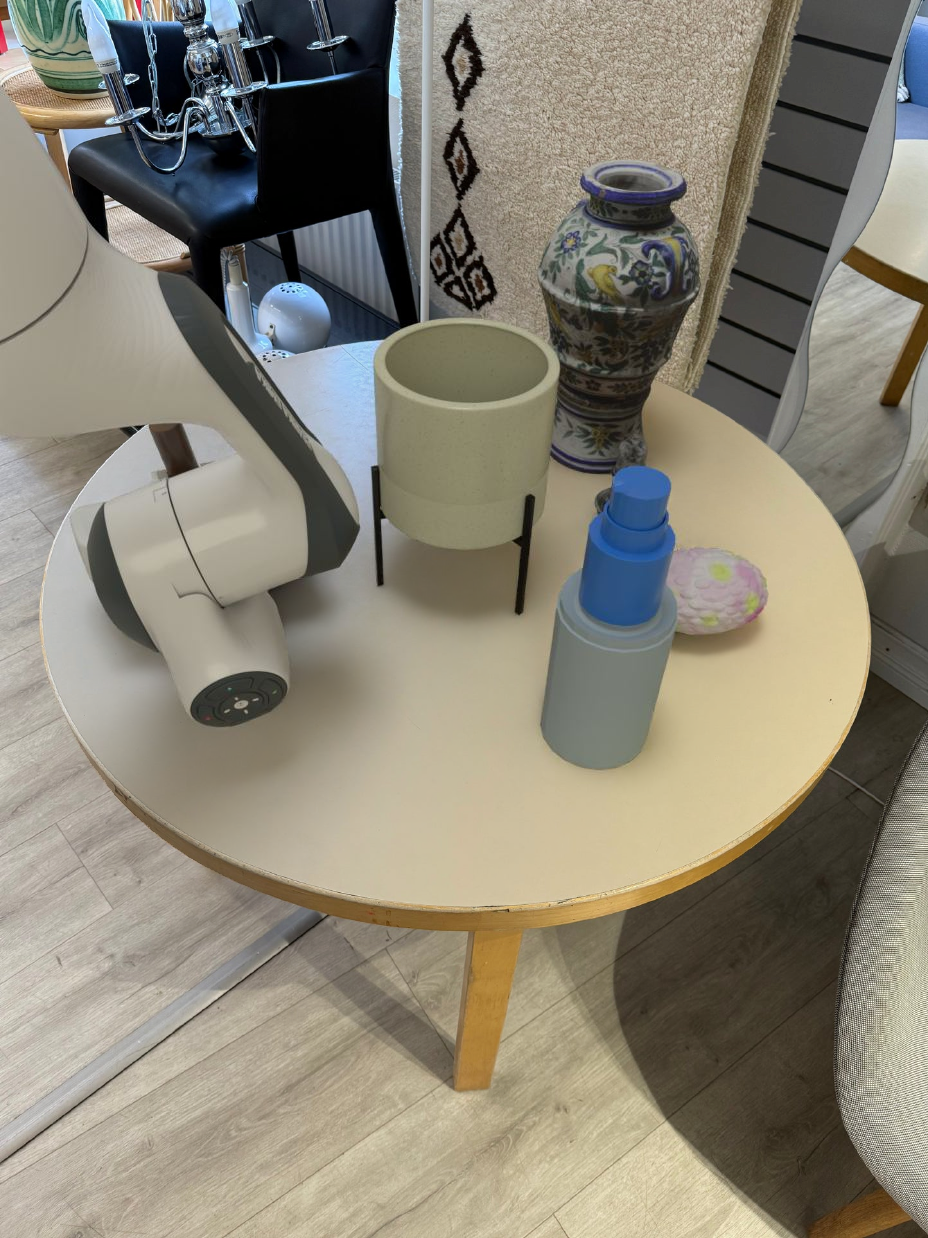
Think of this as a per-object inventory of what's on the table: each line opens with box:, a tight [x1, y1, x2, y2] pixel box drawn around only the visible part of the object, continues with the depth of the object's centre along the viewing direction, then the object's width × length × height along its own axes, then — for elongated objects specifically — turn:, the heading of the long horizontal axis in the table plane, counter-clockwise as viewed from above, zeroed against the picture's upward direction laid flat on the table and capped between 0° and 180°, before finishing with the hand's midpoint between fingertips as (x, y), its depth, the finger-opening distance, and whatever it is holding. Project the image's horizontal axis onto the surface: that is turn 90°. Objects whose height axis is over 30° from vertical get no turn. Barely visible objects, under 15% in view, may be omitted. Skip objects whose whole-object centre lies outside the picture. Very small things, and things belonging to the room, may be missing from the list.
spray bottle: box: [539, 466, 677, 770], centre depth 67 cm, size 9×9×25 cm
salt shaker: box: [593, 433, 649, 515], centre depth 91 cm, size 6×6×12 cm
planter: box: [370, 317, 560, 616], centre depth 82 cm, size 15×16×23 cm
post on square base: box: [148, 423, 200, 478], centre depth 84 cm, size 5×5×14 cm
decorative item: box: [666, 546, 769, 636], centre depth 83 cm, size 9×11×10 cm
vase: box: [536, 159, 702, 475], centre depth 96 cm, size 17×17×30 cm
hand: (184, 472), depth 84 cm, fingers closed on post on square base, 3 cm apart
